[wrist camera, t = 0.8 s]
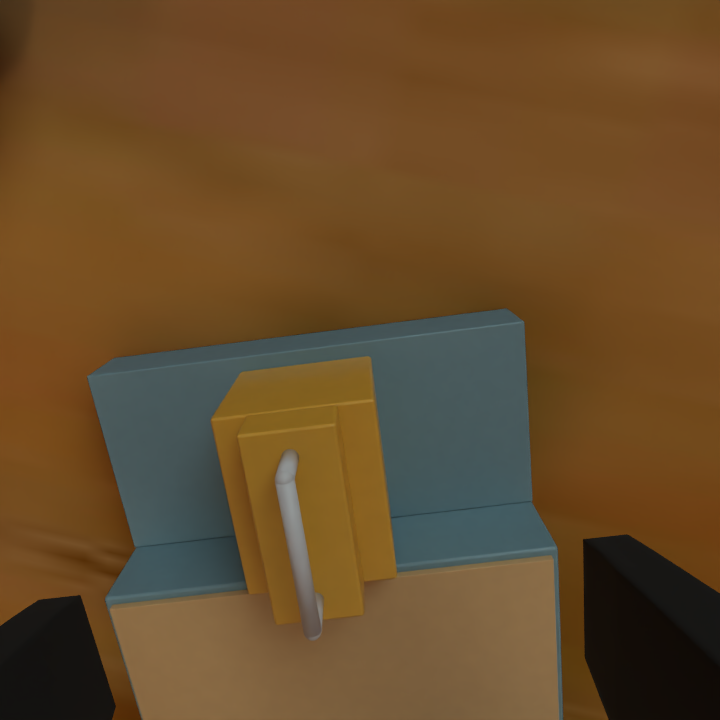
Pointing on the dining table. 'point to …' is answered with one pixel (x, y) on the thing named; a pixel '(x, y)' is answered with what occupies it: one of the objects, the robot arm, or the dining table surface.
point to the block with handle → (307, 487)
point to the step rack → (381, 598)
